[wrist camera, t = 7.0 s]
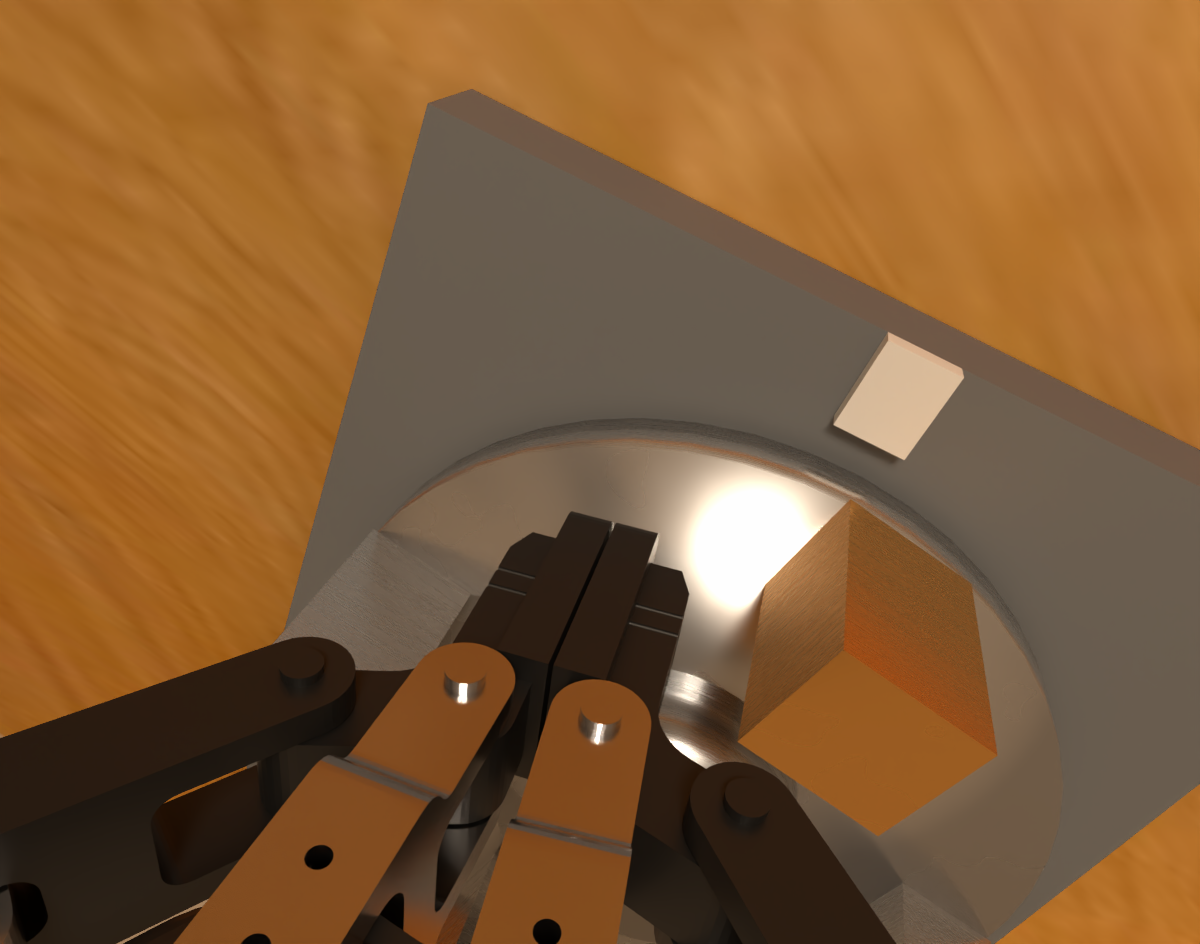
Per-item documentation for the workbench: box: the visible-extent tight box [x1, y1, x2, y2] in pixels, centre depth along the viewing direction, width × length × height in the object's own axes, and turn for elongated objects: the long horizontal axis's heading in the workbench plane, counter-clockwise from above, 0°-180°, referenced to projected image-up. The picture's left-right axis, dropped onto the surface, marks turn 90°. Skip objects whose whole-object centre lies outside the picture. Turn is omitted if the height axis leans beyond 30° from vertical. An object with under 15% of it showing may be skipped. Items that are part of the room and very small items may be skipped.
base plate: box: [247, 89, 1200, 944], centre depth 22 cm, size 19×21×2 cm
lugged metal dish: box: [273, 418, 1063, 944], centre depth 19 cm, size 16×16×5 cm
